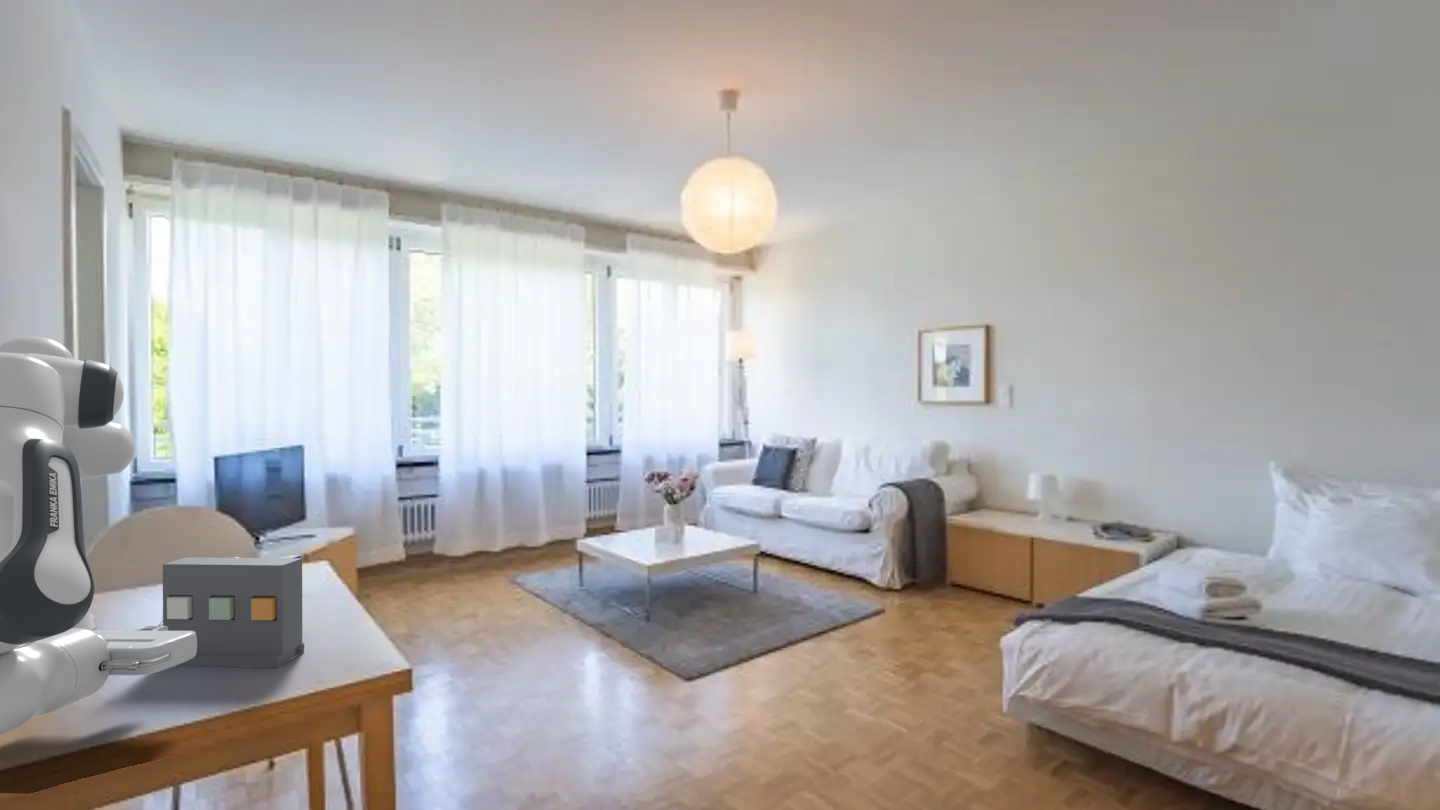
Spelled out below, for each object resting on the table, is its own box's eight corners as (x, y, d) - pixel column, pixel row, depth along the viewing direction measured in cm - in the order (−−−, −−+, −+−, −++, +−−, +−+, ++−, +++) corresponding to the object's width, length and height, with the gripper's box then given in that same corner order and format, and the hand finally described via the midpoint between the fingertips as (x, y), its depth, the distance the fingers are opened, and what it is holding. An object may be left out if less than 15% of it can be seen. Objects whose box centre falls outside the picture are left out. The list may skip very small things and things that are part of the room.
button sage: (208, 619, 112) (208, 598, 112) (222, 613, 115) (222, 593, 115) (229, 619, 112) (229, 598, 112) (242, 614, 115) (242, 593, 115)
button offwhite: (167, 618, 113) (166, 597, 113) (182, 613, 116) (181, 592, 116) (187, 619, 113) (187, 598, 113) (201, 613, 116) (201, 593, 116)
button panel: (155, 665, 112) (154, 566, 112) (190, 650, 119) (189, 556, 119) (276, 667, 111) (276, 567, 111) (304, 651, 118) (304, 557, 118)
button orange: (251, 620, 112) (251, 599, 112) (264, 614, 115) (263, 593, 115) (271, 620, 112) (271, 599, 112) (284, 614, 115) (284, 594, 115)
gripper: (146, 642, 86) (228, 609, 100) (-13, 641, 87) (90, 609, 101) (146, 693, 86) (229, 653, 100) (-13, 692, 87) (91, 652, 101)
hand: (158, 631), depth 100 cm, fingers closed
